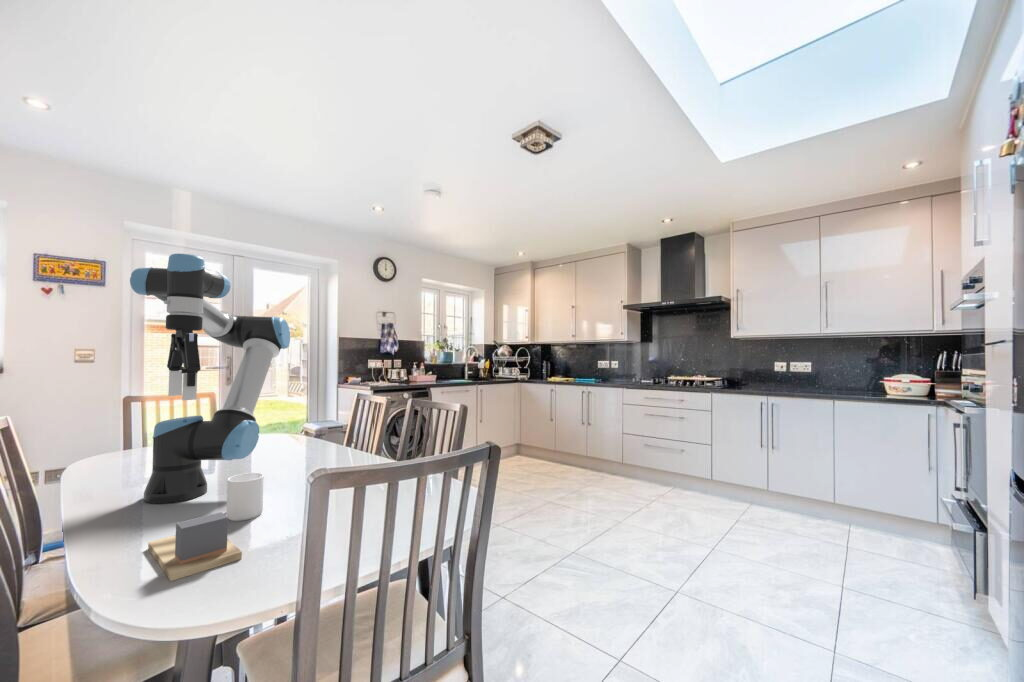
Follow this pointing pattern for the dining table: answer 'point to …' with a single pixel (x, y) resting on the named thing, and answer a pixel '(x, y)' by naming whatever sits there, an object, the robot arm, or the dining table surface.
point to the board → (174, 570)
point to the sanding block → (201, 537)
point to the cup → (245, 496)
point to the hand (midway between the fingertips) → (181, 397)
